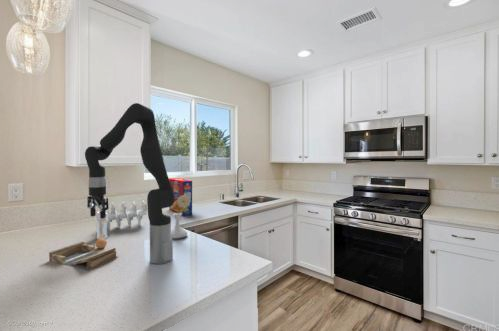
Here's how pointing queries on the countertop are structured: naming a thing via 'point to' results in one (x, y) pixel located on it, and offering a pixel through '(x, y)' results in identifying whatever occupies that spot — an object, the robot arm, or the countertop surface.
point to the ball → (101, 243)
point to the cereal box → (180, 189)
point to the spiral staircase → (127, 214)
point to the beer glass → (102, 225)
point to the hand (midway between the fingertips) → (97, 217)
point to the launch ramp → (98, 258)
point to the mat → (77, 257)
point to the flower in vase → (177, 230)
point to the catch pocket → (69, 252)
